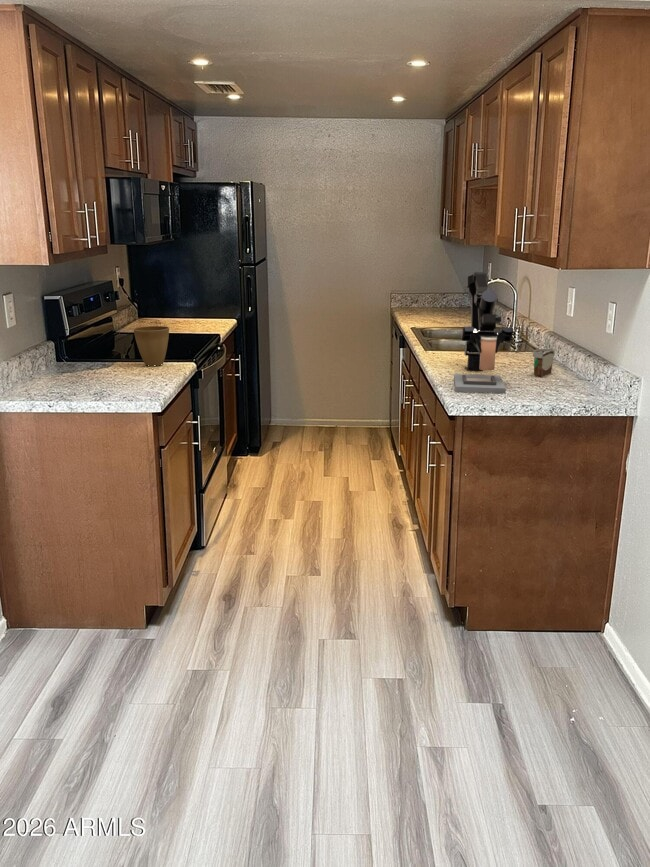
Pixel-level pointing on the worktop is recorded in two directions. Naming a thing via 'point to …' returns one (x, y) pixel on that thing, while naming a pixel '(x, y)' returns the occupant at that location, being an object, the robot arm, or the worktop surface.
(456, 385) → the dock
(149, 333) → the plant pot
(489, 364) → the terracotta canister
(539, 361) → the food container
